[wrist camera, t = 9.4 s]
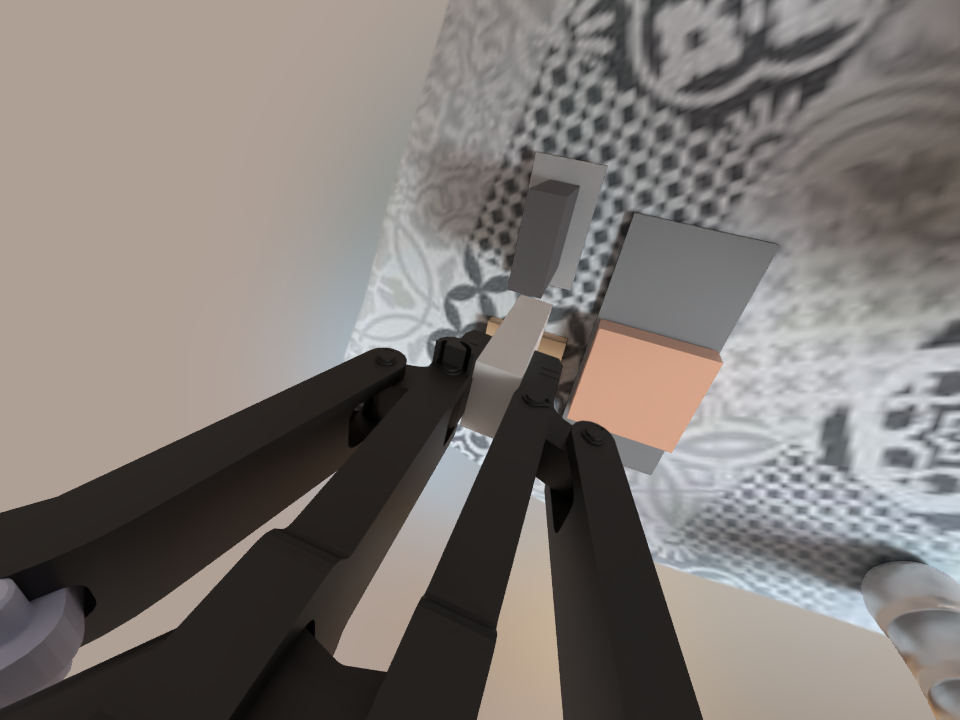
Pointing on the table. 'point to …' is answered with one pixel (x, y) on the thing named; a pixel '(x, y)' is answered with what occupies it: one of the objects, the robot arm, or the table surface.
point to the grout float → (554, 223)
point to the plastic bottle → (921, 626)
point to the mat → (678, 294)
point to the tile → (642, 384)
